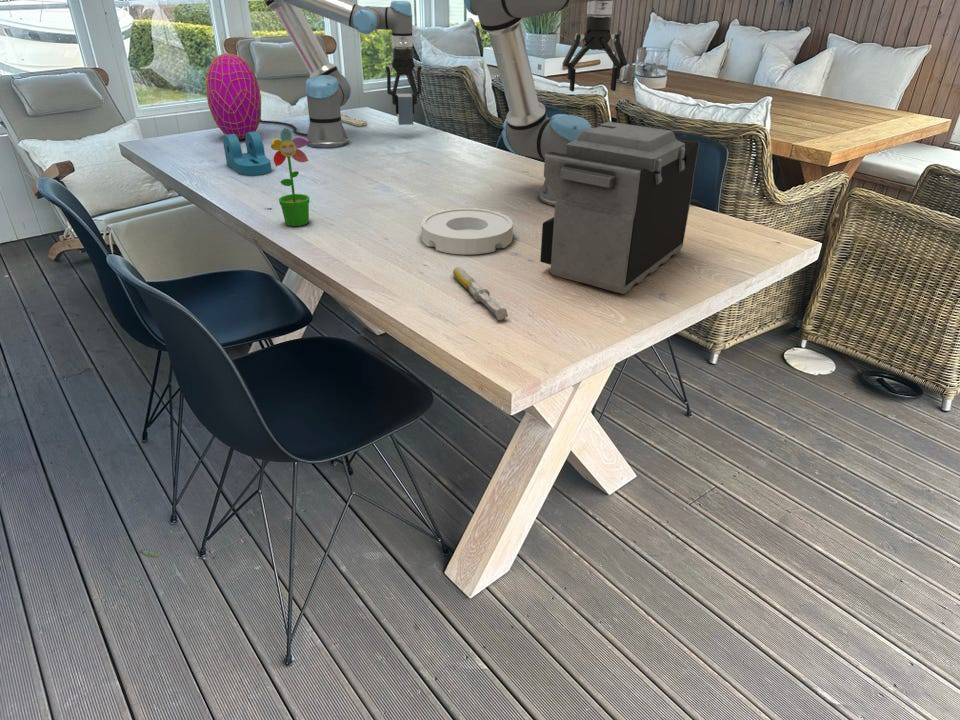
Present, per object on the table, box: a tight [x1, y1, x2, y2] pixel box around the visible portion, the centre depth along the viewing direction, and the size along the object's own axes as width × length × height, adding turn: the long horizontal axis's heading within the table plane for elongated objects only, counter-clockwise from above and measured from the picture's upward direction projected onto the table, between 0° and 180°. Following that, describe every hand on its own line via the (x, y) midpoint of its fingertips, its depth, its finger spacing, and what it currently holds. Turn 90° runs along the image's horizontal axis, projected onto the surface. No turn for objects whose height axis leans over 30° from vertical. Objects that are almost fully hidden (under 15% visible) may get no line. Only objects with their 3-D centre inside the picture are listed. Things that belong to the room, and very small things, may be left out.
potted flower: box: [270, 127, 310, 227], centre depth 177 cm, size 9×8×25 cm
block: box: [396, 93, 414, 126], centre depth 265 cm, size 7×6×10 cm
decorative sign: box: [341, 112, 368, 127], centre depth 295 cm, size 26×1×10 cm
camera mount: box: [222, 130, 272, 176], centre depth 226 cm, size 18×10×10 cm, turn 35°
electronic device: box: [539, 121, 701, 295], centre depth 154 cm, size 37×22×30 cm, turn 144°
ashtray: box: [420, 207, 514, 256], centre depth 174 cm, size 23×23×4 cm
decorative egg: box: [205, 53, 262, 141], centre depth 258 cm, size 19×19×30 cm
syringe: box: [452, 266, 509, 321], centre depth 145 cm, size 25×4×3 cm, turn 21°
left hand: (405, 113), depth 266 cm, fingers closed on block, 5 cm apart
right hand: (592, 90), depth 218 cm, fingers open, 13 cm apart
